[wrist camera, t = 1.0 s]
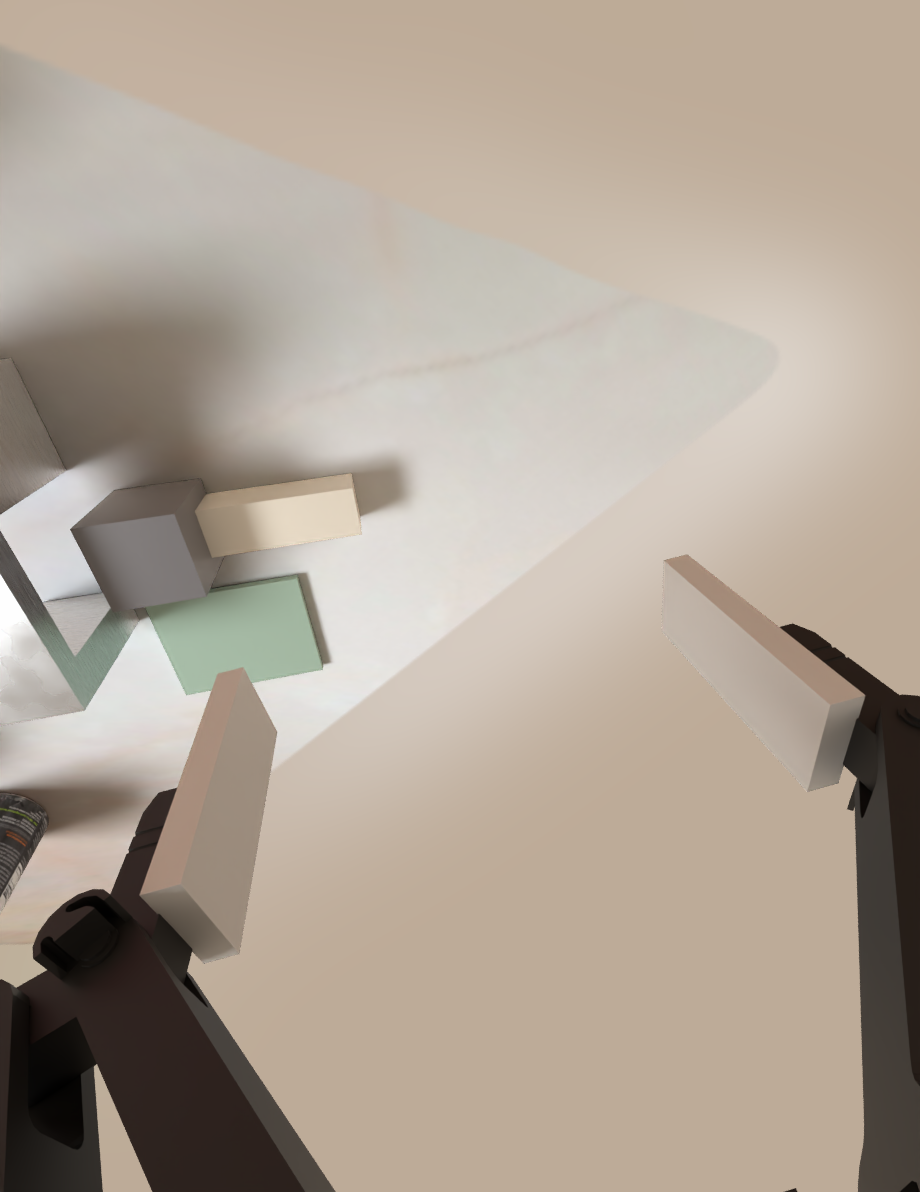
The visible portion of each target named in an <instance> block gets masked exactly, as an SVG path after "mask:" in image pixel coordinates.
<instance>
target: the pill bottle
mask: <svg viewBox="0 0 920 1192" xmlns="http://www.w3.org/2000/svg"><path fill="white" fill-rule="evenodd" d="M48 821H49V820H48V816H47V814H46V812H45V810H44V809H43V808H42V807H41V806H40V805H38V804H37V803H36V802H34V801H32V800H30V799H28V798H25V797H22V796H18V795H14V794H4V793H0V914H1V912H2V910H3V908H4V906H5V905H6V903H7V901H8V899H9V897H10V895H11V894H12V892H13V890H14V888H15V886H16V884H17V882H18V881H19V879H20V877H21V875H22V873H23V871H24V870H25V868H26V866H27V864H28V862H29V860H30V859H31V857H32V855H33V853H34V851H35V849H36V847H37V846H38V844H39V842H40V840H41V839H42V837H43V835H44V833H45V831H46V829H47V827H48Z"/></svg>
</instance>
